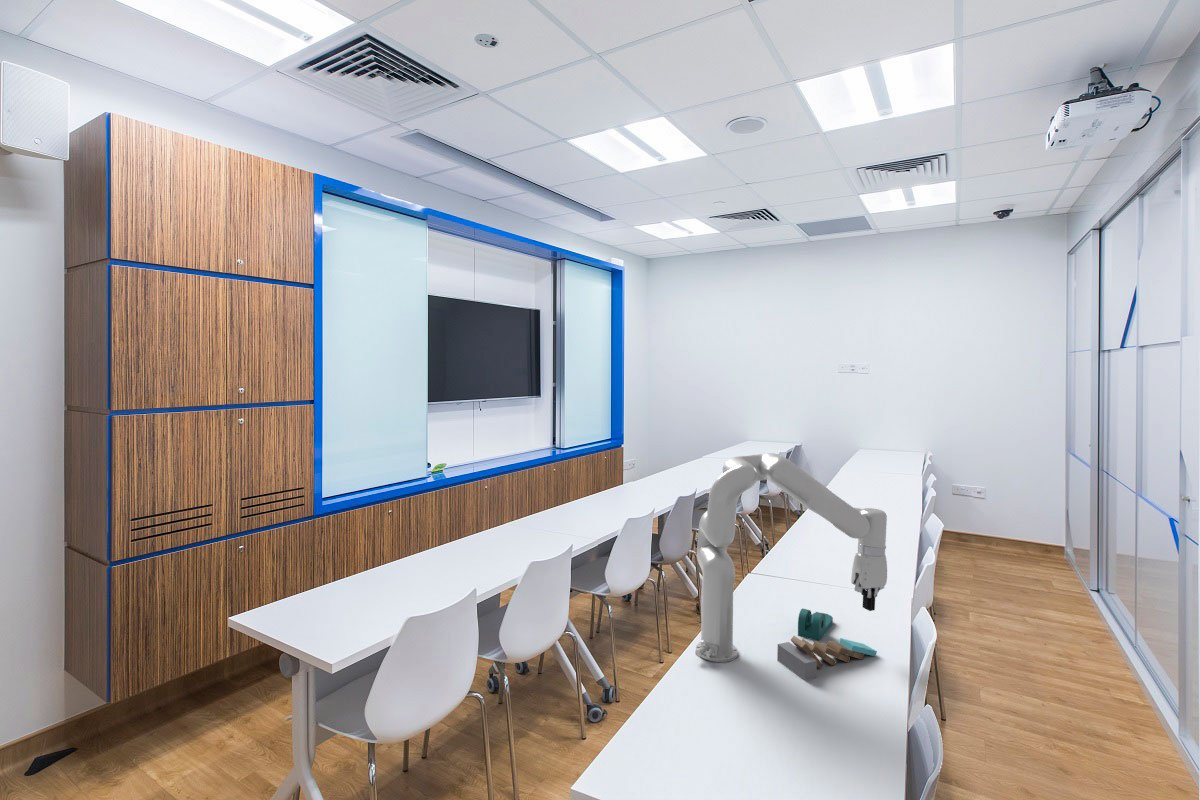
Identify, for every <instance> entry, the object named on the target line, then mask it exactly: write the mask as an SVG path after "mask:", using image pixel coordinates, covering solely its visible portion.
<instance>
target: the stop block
mask: <svg viewBox="0 0 1200 800" xmlns="http://www.w3.org/2000/svg"><path fill="white" fill-rule="evenodd" d="M776 652H777V655H776V656H777V657H776V658H777V662H779V663H780V664H782V665H783V666H784V667H785V668H787V669H788V670H790V671H791V672H793V673H794V674H796V676H798V677H799V678H800V679H802V680H803V681H809V680H814V679H817V669H818V668H817V661H816V660H815V659H813V658H812V657H810V656H809V655H808V654H806V653H805V652H803V651H802V650H800V649H799V648H797V647H796V646H795V645H794V644H793V643H791V642H790V641H787V642H781V643H778V644H777V651H776Z"/></svg>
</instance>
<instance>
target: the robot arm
mask: <svg viewBox="0 0 1200 800" xmlns="http://www.w3.org/2000/svg"><path fill="white" fill-rule="evenodd" d="M766 480H768V481H770V482H771V483H772V484H773V485H775V486H776V487H778V488H779V489H780V490H782V491H783V492H785V494H787V495H788V496H790V498H791V497H792V498H793V499H794V500H795V501H796V502H798V503H800V505H802V506H804V507H805V508H807V509H808V510H810V511H812V513H816V515H819V516H820V517H822V518H824V520H826V521H827V522H829V523H830V524H832V526H834V528H836V529H837V530H839V531H840V532H842V533H843V534H845V535H847V537H849V538H851V539H857V541H858V542H857V552H856V553H855V555H854V558H853V562H852V563H853V564H852V568H851V569H852V570H851V579H850V580H851V582H850V583H851V584H852V585H854V591H855V592H857V593H860V594H861V595H862V608H863V609H865V610H867V611H869V612H872V611H876V610H875V609H876V598H877V597H878V594H879V592H880V591H881V590H883V589H885V586H886V585H887V582H888V563H887V562H888V561H887V555H886V549H887V545H886V541H887V540H886V539H887V525H888V524H887V522H888V516H887V513H886V512H885V511H884V510H882V509H880V508H879V509H877V508H874V507H873V508H871V507H868V508H860V507H859V508H858V507H853V506H852V505H851V504H850V503H847V502H846V501H845V500H843V499H842V498H841V497H839V496H838V495H837V494H835V493H834V492H832V490H830V489H829V488H827V487H826V485H824V484H822V483H821V482H819V481H818V480H817V479H815V478H814V477H813V476H811V475H810V474H808V473H807V472H806V471H805V470H803V469H802V468H800V467H799V466H798V465H796V464H795V463H794V462H792V461H791V460H790V459H789V458H786V457H785V456H783V455H780V454H778V453H774V452H771V453H770V452H769V453H760V454H751V455H750V454H749V455H742V456H741V455H739V456H733V457H731V458H729V459H728V460H726V461H725V462H724V464H723V466H722V474H720V476H718V478H716V479H715V481H714V483H713V484H712V486H711V488H710V492H709V495H708V503H707V509H706V511H705V512H704V513H702V515H701V517H700V520H699V522H698V523H699V524H698V530H697V531H698V532H697V546H696V547H697V548H696V560H697V563H698V565H699V567H700V569H701V572H702V583H701V592H700V595H701V597H700V599H701V601H700V603H701V604H700V605H701V607H700V608H701V610H700V612H701V613H700V614H701V615H700V617H701V618H700V625H701V627H700V638H701V639H700V641H699V642H698V643H697V644H696V646H695V653H694V654H695V656H696V657H698V658H699V657H700V658H702V659H704V660H706V661H709V662H710V661H711V662H713V663H726V662H727V663H729V662H731V661H733V660H736V658H737V657H738V655H739V651H738V648H737V647H736V645H734V643H733V641H734V588H735V587H734V586H735V579H736V567H735V563H734V561H733V559H732V558H731V556H730V555H729V553H728V552H727V551H728V550H727V549H728V546H729V547H730V545H731V544H732V543H733V541H734V540H735V539H734V538H735V535H736V519H737V517H736V516H737V507H738V502H739V499H740V496H741V495H742V494H744V493H745V492H746V491H748V490H750V489H751V488H753V487H754V486H755V485H756V483H757V482H759V481H766Z"/></svg>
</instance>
